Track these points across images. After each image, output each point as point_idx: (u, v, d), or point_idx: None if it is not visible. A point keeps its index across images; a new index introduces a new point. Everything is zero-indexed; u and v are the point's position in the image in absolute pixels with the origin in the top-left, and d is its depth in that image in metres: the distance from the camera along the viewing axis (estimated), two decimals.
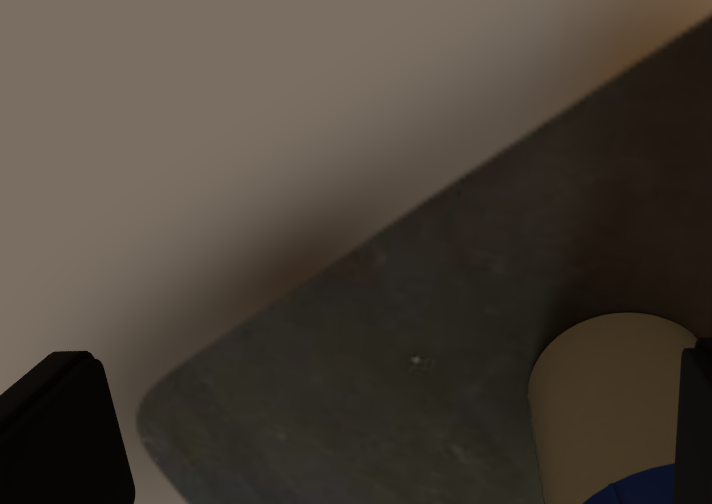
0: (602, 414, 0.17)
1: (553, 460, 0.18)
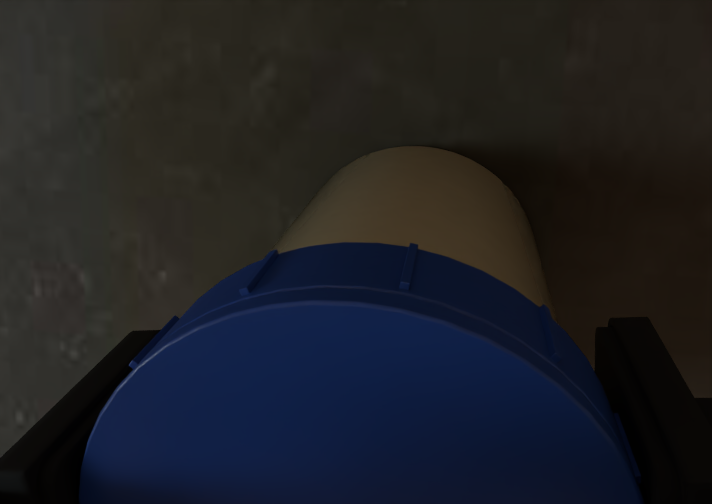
0: (514, 254, 0.11)
1: (418, 208, 0.11)
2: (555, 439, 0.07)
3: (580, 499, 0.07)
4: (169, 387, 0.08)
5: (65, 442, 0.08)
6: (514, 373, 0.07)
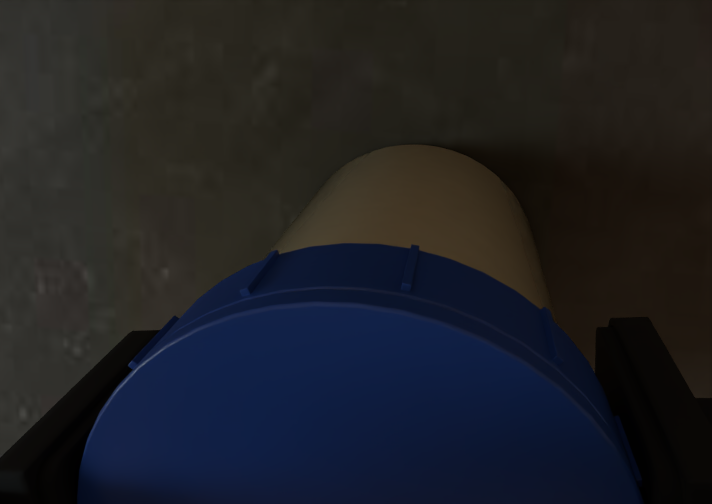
0: (513, 250, 0.12)
1: (419, 205, 0.12)
2: (167, 393, 0.08)
3: (228, 372, 0.07)
4: None
5: (64, 442, 0.08)
6: (112, 421, 0.08)
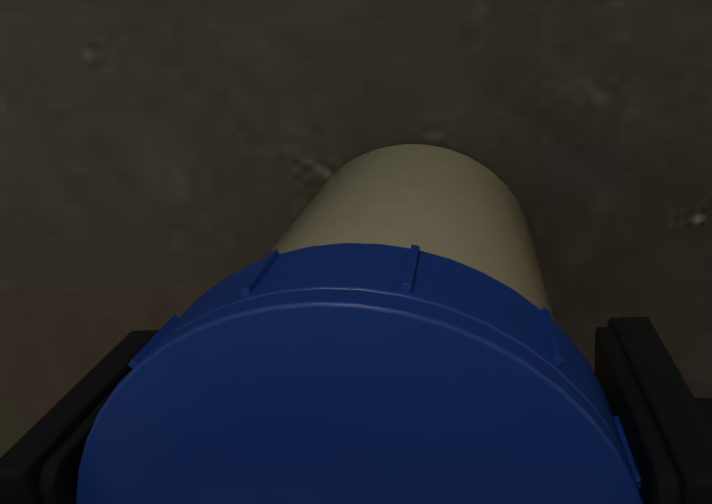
0: None
1: None
2: (167, 392, 0.08)
3: (228, 372, 0.07)
4: None
5: (65, 442, 0.08)
6: (112, 421, 0.08)
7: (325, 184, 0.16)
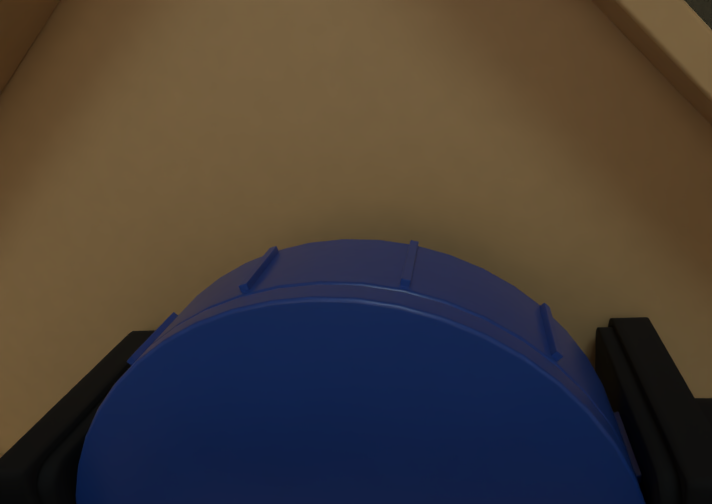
0: None
1: None
2: (166, 388, 0.08)
3: (227, 367, 0.07)
4: None
5: (65, 442, 0.08)
6: (111, 417, 0.08)
7: None
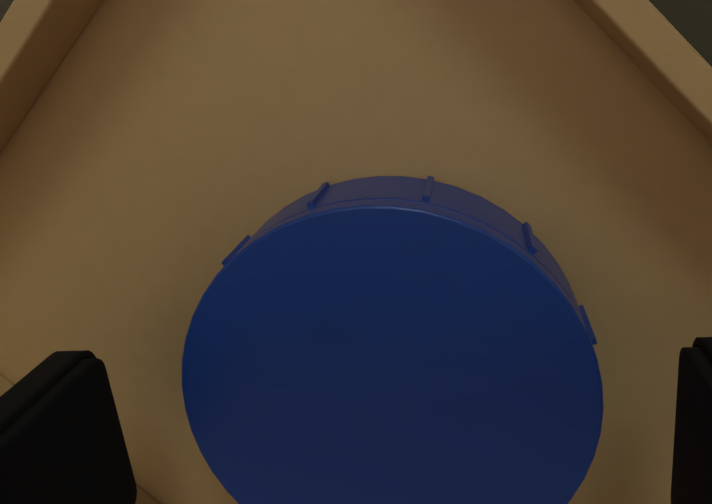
0: None
1: None
2: (254, 277, 0.11)
3: (299, 259, 0.10)
4: (254, 494, 0.12)
5: None
6: (212, 300, 0.11)
7: None
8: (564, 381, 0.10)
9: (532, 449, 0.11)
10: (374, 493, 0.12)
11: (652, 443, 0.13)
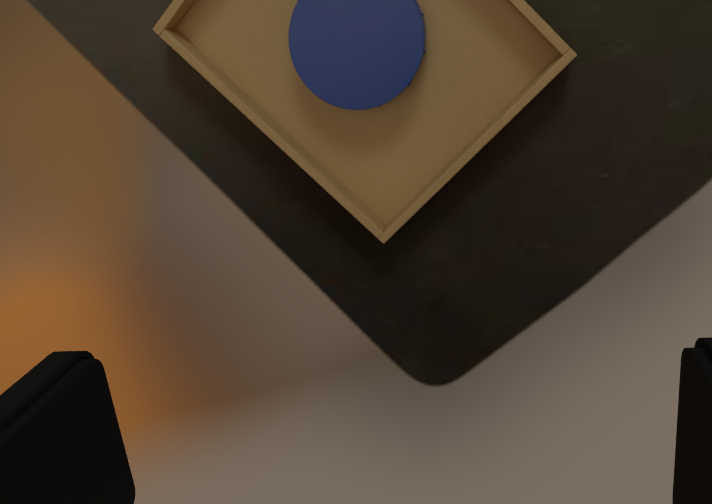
0: None
1: None
2: None
3: None
4: (311, 80, 0.35)
5: None
6: (300, 3, 0.34)
7: None
8: (411, 24, 0.33)
9: (403, 51, 0.34)
10: (353, 75, 0.34)
11: (452, 68, 0.35)
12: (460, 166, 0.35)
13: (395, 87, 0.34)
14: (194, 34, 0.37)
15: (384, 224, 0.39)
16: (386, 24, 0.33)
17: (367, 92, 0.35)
